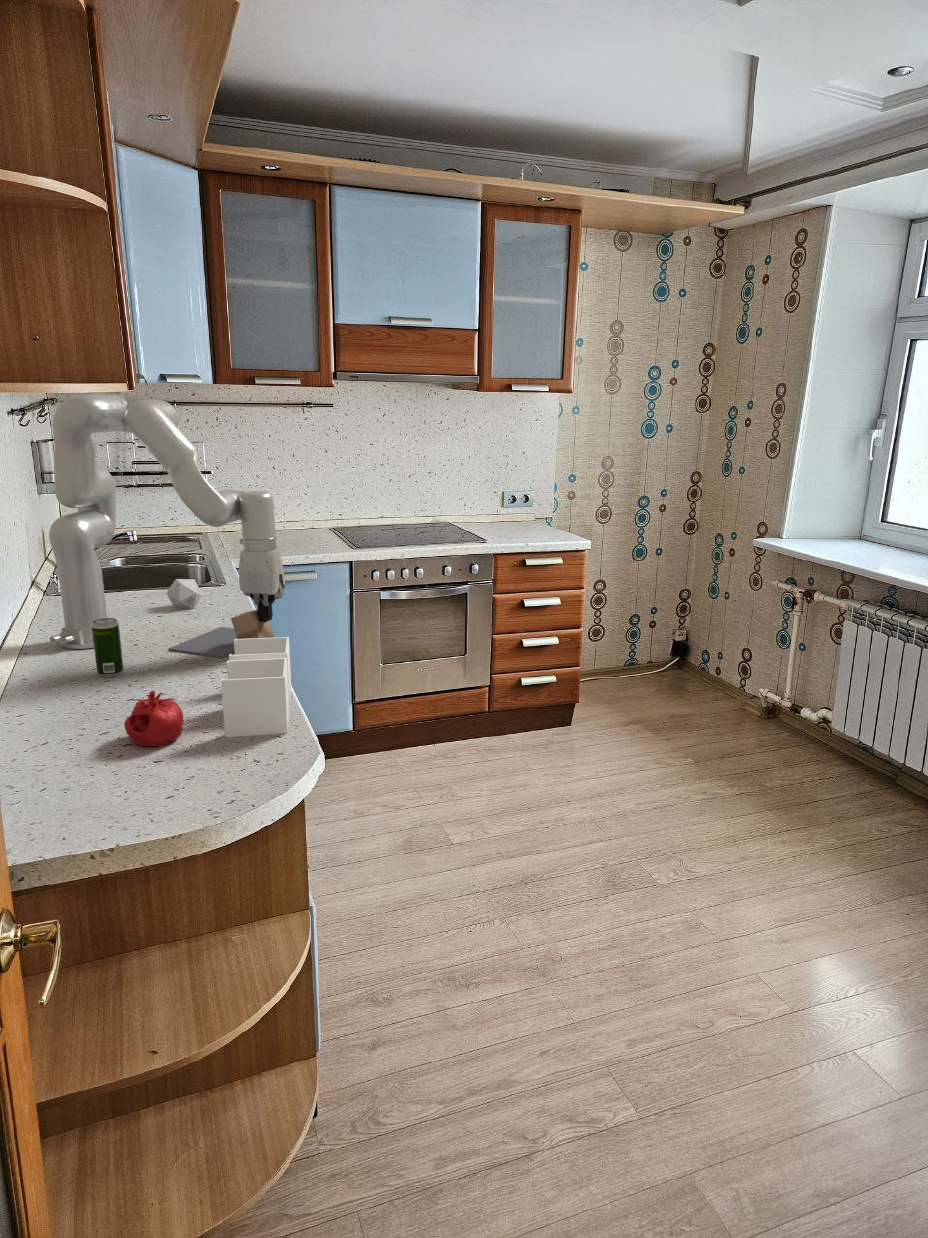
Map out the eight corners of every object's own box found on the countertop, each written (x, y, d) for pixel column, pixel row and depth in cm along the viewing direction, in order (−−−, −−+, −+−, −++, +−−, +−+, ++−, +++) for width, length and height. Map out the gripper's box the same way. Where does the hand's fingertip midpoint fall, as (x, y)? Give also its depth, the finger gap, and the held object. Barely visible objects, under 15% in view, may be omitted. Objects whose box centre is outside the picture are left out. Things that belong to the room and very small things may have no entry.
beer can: (125, 675, 175) (119, 622, 172) (98, 679, 172) (92, 625, 169) (122, 668, 179) (116, 616, 176) (96, 671, 177) (89, 619, 174)
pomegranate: (175, 723, 150) (171, 676, 147) (193, 742, 142) (189, 692, 140) (119, 736, 144) (114, 687, 142) (135, 756, 136) (129, 705, 134)
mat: (221, 657, 187) (220, 655, 187) (168, 650, 192) (168, 648, 192) (269, 634, 205) (269, 633, 205) (220, 628, 210) (220, 626, 210)
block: (261, 645, 191) (250, 613, 189) (241, 649, 193) (230, 618, 192) (275, 638, 196) (264, 607, 195) (255, 642, 198) (245, 612, 197)
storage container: (287, 734, 146) (284, 677, 143) (225, 738, 144) (220, 680, 141) (291, 686, 170) (288, 637, 167) (237, 689, 168) (234, 639, 165)
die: (182, 615, 224) (202, 585, 225) (156, 598, 224) (176, 568, 225) (192, 618, 233) (211, 589, 234) (166, 602, 233) (186, 573, 234)
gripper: (223, 545, 186) (230, 622, 191) (278, 549, 181) (283, 627, 186) (242, 540, 193) (248, 614, 198) (296, 543, 188) (301, 619, 193)
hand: (265, 620), depth 192 cm, fingers closed
